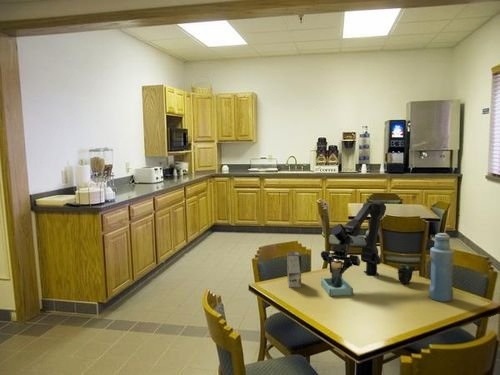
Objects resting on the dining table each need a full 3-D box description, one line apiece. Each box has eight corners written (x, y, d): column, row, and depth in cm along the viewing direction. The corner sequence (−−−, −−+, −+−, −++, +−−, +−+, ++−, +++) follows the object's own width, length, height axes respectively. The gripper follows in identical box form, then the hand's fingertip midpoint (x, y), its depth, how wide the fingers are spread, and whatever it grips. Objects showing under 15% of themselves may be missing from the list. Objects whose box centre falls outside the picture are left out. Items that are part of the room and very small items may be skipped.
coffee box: (301, 287, 198) (301, 255, 196) (288, 287, 198) (288, 255, 196) (299, 281, 207) (299, 251, 205) (287, 281, 207) (287, 251, 205)
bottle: (455, 303, 176) (458, 236, 173) (431, 301, 178) (433, 235, 175) (449, 295, 185) (451, 231, 182) (426, 293, 187) (428, 231, 184)
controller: (395, 284, 200) (396, 265, 199) (407, 279, 208) (408, 260, 207) (404, 286, 197) (404, 266, 196) (415, 280, 205) (416, 262, 204)
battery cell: (330, 284, 196) (330, 258, 194) (340, 283, 196) (340, 258, 195) (332, 287, 191) (332, 261, 189) (343, 287, 191) (343, 261, 190)
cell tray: (321, 284, 201) (321, 278, 201) (342, 284, 202) (342, 277, 201) (329, 296, 185) (329, 289, 185) (352, 295, 186) (352, 288, 185)
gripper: (322, 235, 199) (312, 262, 191) (358, 239, 189) (350, 267, 181) (328, 247, 207) (319, 273, 199) (363, 251, 196) (356, 279, 188)
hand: (335, 273), depth 191 cm, fingers closed on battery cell, 5 cm apart
